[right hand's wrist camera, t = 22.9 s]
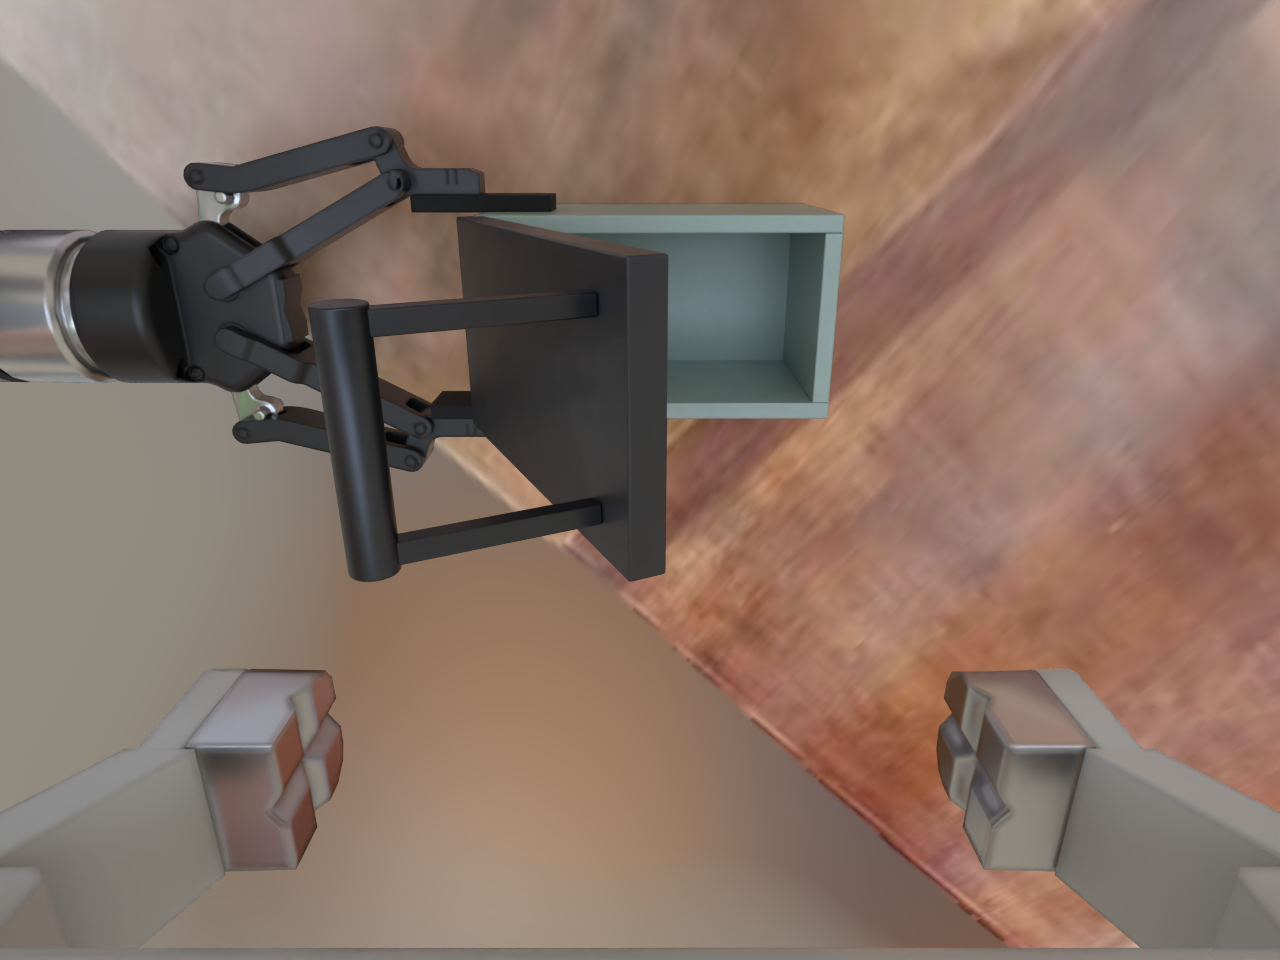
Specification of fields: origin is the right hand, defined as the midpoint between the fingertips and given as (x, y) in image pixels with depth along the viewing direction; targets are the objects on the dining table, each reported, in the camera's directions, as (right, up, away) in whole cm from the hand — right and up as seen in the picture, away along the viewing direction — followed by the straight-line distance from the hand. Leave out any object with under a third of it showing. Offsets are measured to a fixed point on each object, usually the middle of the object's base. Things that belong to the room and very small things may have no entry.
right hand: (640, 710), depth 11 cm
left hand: (-4, +12, +30) cm, 33 cm away
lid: (-3, +7, +19) cm, 21 cm away
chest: (+1, +14, +36) cm, 38 cm away
